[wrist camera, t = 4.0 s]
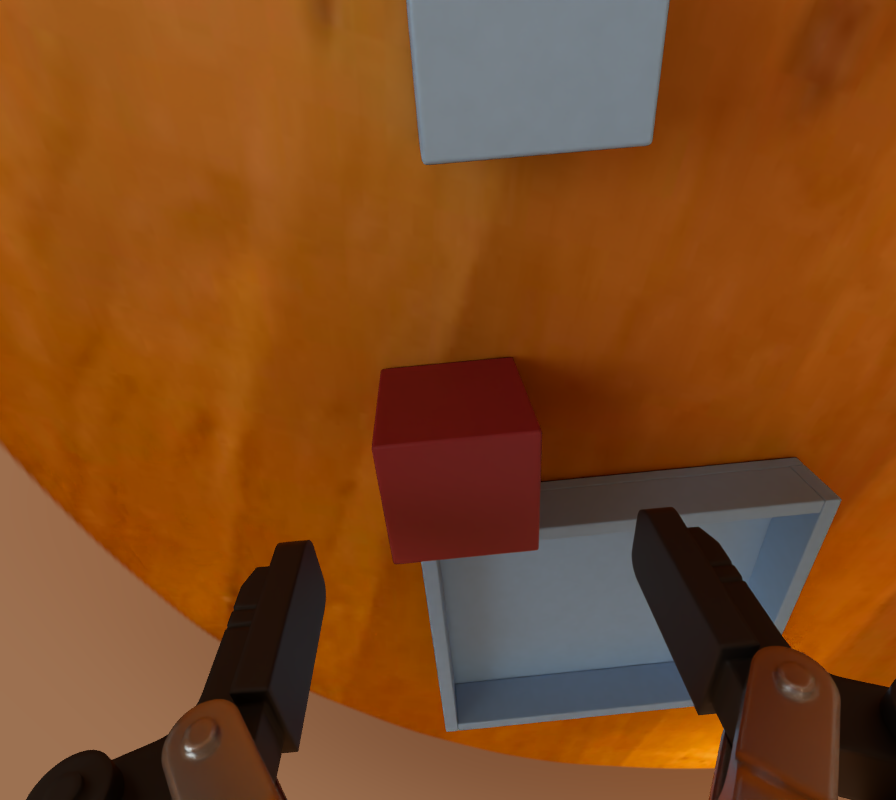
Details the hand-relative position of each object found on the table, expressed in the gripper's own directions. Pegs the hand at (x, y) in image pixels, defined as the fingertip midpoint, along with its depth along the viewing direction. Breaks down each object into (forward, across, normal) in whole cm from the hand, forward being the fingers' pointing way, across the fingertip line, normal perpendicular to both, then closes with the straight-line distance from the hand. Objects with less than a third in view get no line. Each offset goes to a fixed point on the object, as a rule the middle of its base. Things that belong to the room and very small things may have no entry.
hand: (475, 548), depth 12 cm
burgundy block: (+6, 0, 0) cm, 6 cm away
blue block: (+6, -2, -11) cm, 13 cm away
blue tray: (+6, -6, +10) cm, 13 cm away
